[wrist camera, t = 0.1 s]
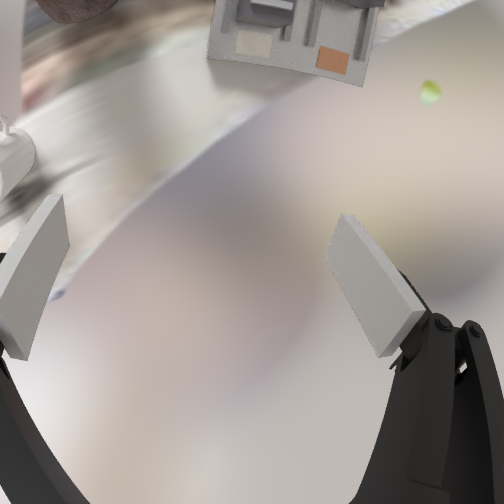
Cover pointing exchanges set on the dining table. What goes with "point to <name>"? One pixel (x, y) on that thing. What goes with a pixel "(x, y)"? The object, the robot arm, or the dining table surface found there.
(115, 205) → the dining table surface
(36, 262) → the robot arm
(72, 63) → the dining table surface
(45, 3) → the clay figurine
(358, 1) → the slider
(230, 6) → the switch unit
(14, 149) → the mug
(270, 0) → the block
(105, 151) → the dining table surface
